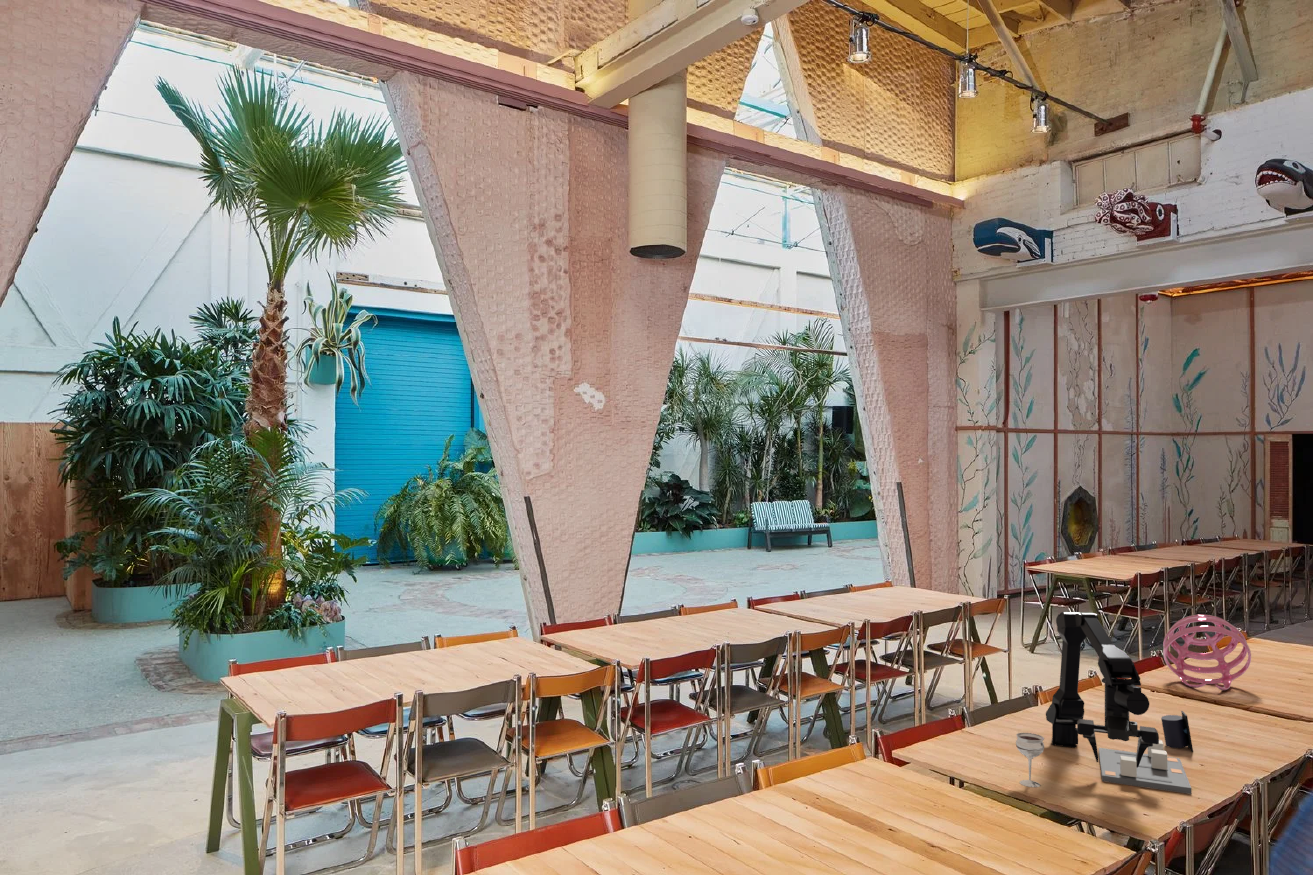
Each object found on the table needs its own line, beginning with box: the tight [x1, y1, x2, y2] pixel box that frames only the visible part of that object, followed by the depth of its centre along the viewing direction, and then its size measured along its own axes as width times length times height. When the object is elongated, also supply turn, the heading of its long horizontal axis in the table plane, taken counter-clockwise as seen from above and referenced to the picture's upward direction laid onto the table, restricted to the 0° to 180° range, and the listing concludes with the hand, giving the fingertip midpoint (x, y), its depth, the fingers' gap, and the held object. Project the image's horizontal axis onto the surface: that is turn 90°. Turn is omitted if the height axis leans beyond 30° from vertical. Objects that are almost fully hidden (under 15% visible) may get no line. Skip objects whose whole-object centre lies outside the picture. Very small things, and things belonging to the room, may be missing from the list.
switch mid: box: [1151, 749, 1168, 770], centre depth 236 cm, size 4×4×4 cm
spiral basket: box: [1162, 614, 1252, 692], centre depth 331 cm, size 28×28×27 cm
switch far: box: [1147, 739, 1164, 757], centre depth 245 cm, size 4×4×4 cm
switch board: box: [1098, 747, 1193, 795], centre depth 237 cm, size 20×25×2 cm
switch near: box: [1120, 756, 1137, 777], centre depth 230 cm, size 4×4×4 cm
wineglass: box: [1015, 732, 1045, 788], centre depth 228 cm, size 7×7×12 cm
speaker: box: [1160, 710, 1194, 753], centre depth 259 cm, size 8×6×10 cm
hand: (1117, 764), depth 231 cm, fingers open, 9 cm apart
